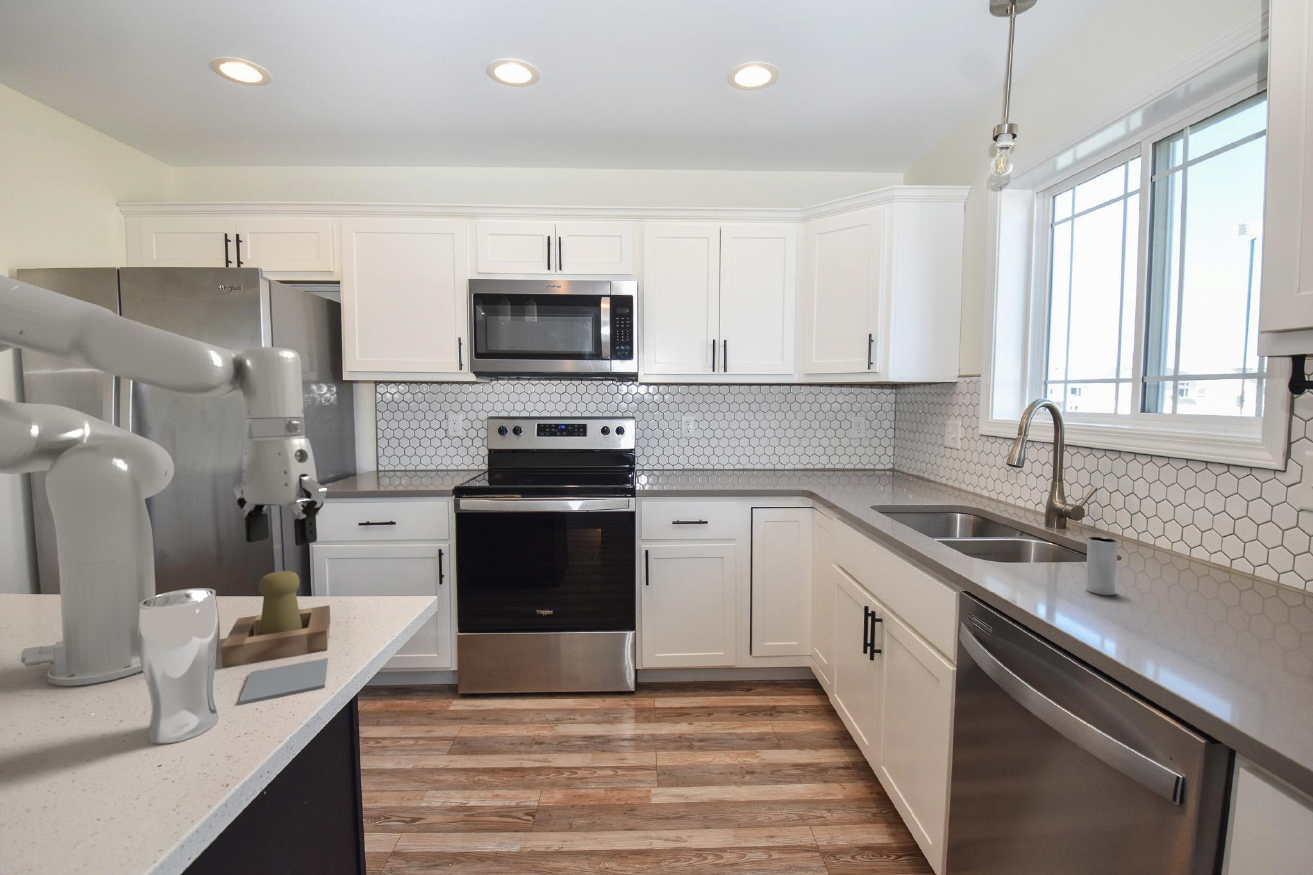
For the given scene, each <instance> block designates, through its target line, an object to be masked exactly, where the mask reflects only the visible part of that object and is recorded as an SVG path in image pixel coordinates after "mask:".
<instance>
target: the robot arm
mask: <svg viewBox="0 0 1313 875" xmlns="http://www.w3.org/2000/svg"><path fill="white" fill-rule="evenodd" d="M15 348H17V349H21V350H25V351H29V352H31V353H35V354H39V355H42V356H45V357H48V358H52V359H56V360H60V361H62V362H66V363H69V364H73V365H77V366H79V367H82V368H85V369H92V370H96V371H100V372H103V373H107V374H110V375H112V376H117V377H119V378H123V379H126V380H130V381H134V382H136V383H140V384H143V385H144V384H145V385H147V386H151V387H154V388H159V389H161V390H166V391H169V392H173V393H176V394H181V395H185V396H189V397H202V398H214V399H219V398H220V399H222V398H230V397H237V396H242V407H243V408H242V409H243V418H244V419H243V422H244V426H243V427H244V436H245V437H244V439H245V440H244V447H243V454H242V455H243V456H242V468H241V469H242V470H241V472H242V478H241V479H242V481H240V482H238V483H237V484H236V485H234V486H233V487H232V491H233V494H234V496H235V498H236V500H237V501H236V503H237V505H238V507H239V508H240V509H241V515H242V516H243V517H244V525H245V538H246V543H255V542H259V541H263V540H267V539H269V537H270V534H269V533H270V532H269V518H268V512H265V510H266V509H267V507H268V506H273V507H274V506H275V507H276V506H277V507H290V508H291V509H292V511H293V513H294V515H296V517H297V518H294V522H293V523H294V524H293V526H294V540H295V545H296V546H298V547H299V546H300V547H301V546H305V545H309V544H312V543H315V542H317V539H318V535H317V534H318V533H317V517H318V516H319V514H320V510H321V509H322V508H323V506H324V500H325V499H326V498H325V497H326V496H327V492H328V490H327V488H326V487H325V486H324V485H322V484H320V483H319V482H318V478H317V470H316V463H315V458H314V452H313V449H312V445H311V442H310V440H309V438H307V437H306V435H305V434H306V432H305V429H306V423H305V416H304V415H305V414H304V399H303V398H304V396H303V381H302V380H303V378H302V375H303V374H302V361H301V357H300V354H299V353H298V352H297V351H296V350H295V349H294V350H293V349H292V348H287V347H276V346H255V347H248V348H246V349H244V350H235V349H230V348H229V349H227V348H224V347H221V346H216V345H214V344H211V343H207V342H205V341H200V340H197V339H193V338H191V337H188V336H183V335H180V334H177V333H174V332H170V331H168V330H164V329H161V328H157V327H156V326H155V327H154V326H151V325H148V324H145V323H141V322H139V321H136V320H132V319H129V318H126V317H123V316H121V315H119V314H117V313H114V312H113V311H112V310H110V309H108V308H106V307H103V306H101V305H98V304H95V303H91V302H89V301H84V300H81V299H78V298H74V297H72V296H69V295H66V294H62V293H60V292H56V291H54V290H53V291H52V290H49V289H46V288H44V287H40V286H37V285H34V284H30V283H28V282H24V281H21V280H18V279H15V278H11V277H8V276H5V275H1V274H0V353H3V352H5V351H9V350H12V349H15ZM40 471H45V472H46V471H47V472H46V476H45V492H46V496H47V500H48V504H49V508H50V511H51V514H52V518H53V523H54V528H55V536H56V545H57V546H56V547H57V548H56V549H57V561H58V569H59V571H58V572H59V592H60V606H61V607H60V608H61V609H60V610H61V611H60V612H61V627H62V628H61V629H62V630H61V632H62V640H60V641H57V642H55V643H54V644H53V645H46V646H45V645H41V646H33V647H26V648H23V650H22V651H21V655H20V660H21V663H22V664H24V665H25V667H27V668H28V667H32V666H40V665H43V664H48V663H49V664H50V665H53V666H52V667H50V669H48V671H47V681H48V683H50V684H52V685H55V686H60V687H61V686H63V687H72V686H74V687H75V686H76V687H77V686H84V685H85V686H86V685H92V684H98V683H102V682H108V681H112V680H117V679H121V678H124V677H128V676H131V675H134V674H138V673H140V672H143V669H142V666H141V661H140V656H139V648H138V621H139V603H140V602H141V601H143V600H145V599H147V598H149V597H152V596H155V595H157V594H156V578H155V577H156V574H155V555H154V554H155V553H154V552H155V550H154V539H153V538H154V537H153V530H152V529H153V528H152V523H151V518H150V515H149V514H150V513H149V512H148V508H147V504H146V500H145V499H148V498H151V497H154V496H155V495H157V494H159V493H160V492H162V491H163V490H165V489H166V488H167V486H168V485H169V484H170V483H171V481H172V479H173V477H174V474H175V464H174V460H173V459H172V457H171V454H169V453H168V451H167V450H166V449H165V448H163V447H162V446H161V445H160V444H158V443H156V442H154V441H152V440H150V439H148V438H146V437H143V436H142V435H139V434H137V433H134V432H131V431H129V430H127V429H123V428H122V427H119V426H117V425H114V424H111V423H109V422H107V421H104V420H102V419H99V418H97V417H96V416H95V417H94V416H92V415H90V414H88V413H85V412H83V411H80V410H77V409H75V408H74V409H73V408H70V407H67V406H63V405H59V404H53V403H52V404H49V403H29V402H19V401H11V400H8V399H4V398H0V474H5V475H6V474H8V475H18V474H19V475H20V474H27V473H34V472H40ZM303 505H304V507H302V506H303Z"/></svg>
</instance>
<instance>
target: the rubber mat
mask: <svg viewBox="0 0 1313 875" xmlns="http://www.w3.org/2000/svg"><path fill="white" fill-rule="evenodd" d="M327 668H328V657H326V658H319V659H315V660H310V661H303V662H298V663H293V664H292V663H291V664H287V665H281V666H276V667H270V668H269V667H268V668H264V669H258V670H254V671H250V672H249V674H248V678H247V680H246V682H245V685H244V687H243V689H242V690H243V691H242V693H241V695H240V698H239V701H238V705H239V706H240V705H241V706H242V705H244V704H249V703H254V702H259V701H260V702H261V701H264V700H270V699H275V698H278V697H280V698H281V697H285V696H290V695H294V694H300V693H304V692H309V691H313V690H320V689H325V686H326V678H327Z"/></svg>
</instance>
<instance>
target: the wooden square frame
mask: <svg viewBox="0 0 1313 875" xmlns="http://www.w3.org/2000/svg"><path fill="white" fill-rule="evenodd" d="M299 613H300V618H301V623H302V629H298V630H292V631H285V632H279V633H272V634H266V635H260V626H261V617H262V614H259V615H251V616H246V617H238V618H237V619H236V621H235V623H234V624H233V626H232V628H231V629H230V631H229V633H228V635H227V637H226V638H225V641H224V642H223V644H222V645H221V665H222V666H221V667H222V669H226V668H227V669H228V668H232V667H233V668H234V667H239V666H244V665H249V664H250V665H251V664H255V663H260V662H261V663H262V662H267V661H273V660H279V659H284V658H290V657H291V658H292V657H297V656H302V655H307V654H314V653H319V652H325V651H326V652H327V651H328V647H329V638H330V627H331V605H330V604H329V605H323V606H314V607H307V608H301V609H299ZM259 635H260V636H259Z"/></svg>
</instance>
